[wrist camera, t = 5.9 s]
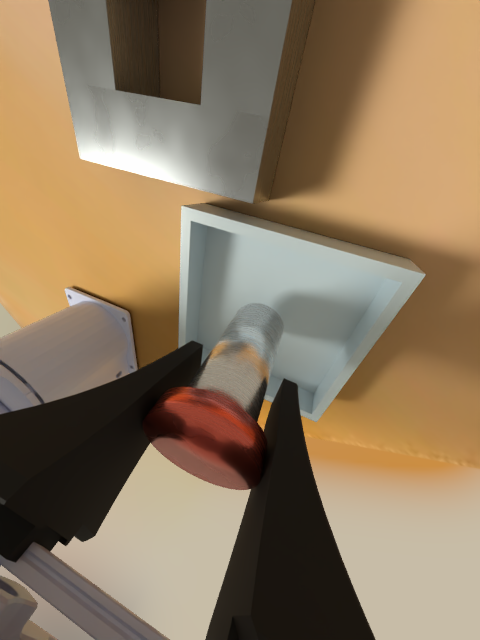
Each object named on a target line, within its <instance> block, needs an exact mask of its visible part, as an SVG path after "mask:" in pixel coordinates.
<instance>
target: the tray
mask: <svg viewBox="0 0 480 640" xmlns="http://www.w3.org/2000/svg"><path fill="white" fill-rule="evenodd" d="M425 275H426V274H425V273H424V272H423V271H422V270H421V269H420V268H418V267H417V266H416V265H415V264H414V263H413V262H412V261H411V260H410V259H408V258H404V257H400V256H397V255H393V254H389V253H386V252H382V251H378V250H375V249H371V248H367V247H364V246H360V245H356V244H353V243H349V242H345V241H341V240H338V239H334V238H330V237H327V236H323V235H319V234H316V233H312V232H308V231H305V230H301V229H297V228H294V227H290V226H286V225H283V224H279V223H275V222H272V221H268V220H264V219H261V218H257V217H253V216H250V215H246V214H242V213H239V212H235V211H231V210H228V209H224V208H220V207H217V206H213V205H209V204H206V203H201V204H192V205H184V206H181V250H180V295H179V341H178V348H180V347H181V346H183V345H185V344H187V343H188V342H190V341H192V340H193V341H195V342H198V343H200V344H202V345H203V351H202V360H201V365H202V364H203V362H204V361H205V359H206V358H207V356H208V355H209V353H210V352H211V350H212V349H213V347H214V346H215V344H216V343H217V341H218V340H219V338H220V337H221V335H222V334H223V332H224V331H225V329H226V328H227V326H228V325H229V323H230V322H231V320H232V319H233V317H234V316H235V314H236V313H237V311H238V310H239V309H240V308H241V307H242V306H244V305H247V304H250V303H260V304H264V305H267V306H269V307H271V308H272V309H274V310H275V311H276V312H277V313H278V314H279V315H280V317H281V319H282V321H283V324H284V331H283V335H282V338H281V342H280V345H279V349H278V352H277V356H276V359H275V362H274V366H273V369H272V373H271V376H270V380H269V383H268V386H267V390H266V393H265V397H264V399H265V400H268V401H270V402H273V400H274V398H275V396H276V394H277V392H278V390H279V387H280V385H281V383H282V381H283V379H284V378H285V379H287V380H289V381H292V382H294V383H297V385H298V397H299V407H300V414H301V416H304V417H306V418H308V419H311V420H313V421H315V422H317V421H318V420H319V418H320V417H321V416H322V414H323V413H324V412H325V410H326V409H327V408H328V406H329V405H330V403H331V402H332V401H333V399H334V398H335V397H336V395H337V394H338V393H339V391H340V390H341V389H342V387H343V386H344V385H345V383H346V382H347V381H348V379H349V378H350V377H351V375H352V374H353V372H354V371H355V370H356V368H357V367H358V366H359V364H360V363H361V362H362V360H363V359H364V358H365V356H366V355H367V354H368V352H369V351H370V350H371V348H372V347H373V346H374V344H375V343H376V341H377V340H378V339H379V337H380V336H381V335H382V333H383V332H384V331H385V329H386V328H387V327H388V325H389V324H390V323H391V321H392V320H393V319H394V317H395V316H396V315H397V313H398V312H399V310H400V309H401V308H402V306H403V305H404V304H405V302H406V301H407V300H408V298H409V297H410V296H411V294H412V293H413V292H414V290H415V289H416V288H417V286H418V285H419V284H420V282H421V281H422V279H423V278H424V277H425Z"/></svg>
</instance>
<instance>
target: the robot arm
mask: <svg viewBox="0 0 480 640" xmlns="http://www.w3.org/2000/svg"><path fill="white" fill-rule="evenodd" d="M65 293H66V296H67V299H68V302H69V305H70V307H68V308H65V309H63V310H61V311H59V312H56V313H54V314H52V315H50V316H48V317H45V318H43V319H41V320H39V321H36V322H34V323H32V324H30V325H28V326H25V327H23V328H21V329H19V330H16V331H14V332H12V333H10V334H7V335H5V336H3V337H1V338H0V566H1V565H2V566H3V567H4V568H6V569H7V570H8V571H10V572H11V573H12V574H13V575H15V576H16V577H17V578H18V579H20V580H21V581H22V582H24V583H25V584H26V585H27V586H29V587H30V588H31V589H32V590H33V591H35V592H36V593H37V594H38V595H40V596H41V597H42V598H43V599H45V600H46V601H47V602H49V603H50V604H51V605H52V606H54V607H55V608H56V609H57V610H59V611H60V612H61V613H62V614H64V615H65V616H66V617H68V618H69V619H70V620H71V621H73V622H74V623H75V624H76V625H78V626H79V627H80V628H81V629H82V630H84V631H85V632H86V633H87V634H89V635H90V636H91V637H93V638H94V639H95V640H170V639H168V638H167V637H165V636H164V635H163V634H161V633H160V632H159V631H157V630H156V629H155V628H153V627H152V626H150V625H149V624H148V623H146V622H145V621H144V620H142V619H141V618H139V617H138V616H137V615H135V614H134V613H133V612H131V611H130V610H129V609H127V608H126V607H125V606H123V605H122V604H121V603H119V602H118V601H116V600H115V599H114V598H112V597H111V596H110V595H108V594H107V593H105V592H104V591H103V590H101V589H100V588H99V587H97V586H96V585H95V584H93V583H92V582H91V581H89V580H88V579H86V578H85V577H84V576H82V575H81V574H80V573H78V572H77V571H76V570H74V569H73V568H71V567H70V566H69V565H67V564H66V563H64V562H63V561H62V560H61V559H59V558H58V557H56V556H55V555H54V554H52V553H51V552H50V551H51V550H52V549H53V547H54V546H55V545H56V543H57V542H58V541H59V542H61V543H62V544H63V545H65V546H66V545H68V543H69V542H70V541H71V539H72V538H73V537H74V536H75V537H76V538H77V539H79V540H80V541H82V542H84V541H86V540H88V539H90V538H92V537H94V536H95V535H96V533H97V531H98V529H99V528H100V526H101V524H102V522H103V520H104V519H105V517H106V515H107V513H108V512H109V510H110V508H111V506H112V505H113V503H114V501H115V499H116V498H117V496H118V494H119V493H120V491H121V489H122V487H123V486H124V484H125V483H126V481H127V479H128V478H129V476H130V474H131V472H132V471H133V469H134V468H135V466H136V464H137V463H138V461H139V459H140V458H141V456H142V455H143V453H144V451H145V450H146V448H147V447H148V445H149V444H150V441H149V440H148V438H147V437H146V435H145V433H144V430H143V420H144V418H145V417H146V416H147V414H148V413H149V412H150V410H151V409H152V408H153V406H154V405H155V404H156V402H157V401H158V400H159V398H160V397H161V396H162V395H163V393H164V392H166V391H167V390H169V389H171V388H175V387H187V386H188V385H189V383H190V382H191V380H192V379H193V377H194V376H195V374H196V373H197V371H198V370H199V368H200V367H201V360H202V351H203V345H202V344H200V343H198V342H195V341H193V340H192V341H190V342H188V343H187V344H185V345H183V346H181V347H180V348H178V349H176V350H175V351H173V352H171V353H169V354H168V355H166V356H164V357H162V358H160V359H158V360H156V361H155V362H153V363H151V364H149V365H147V366H145V367H143V368H141V369H138V368H137V361H136V354H135V347H134V340H133V332H132V325H131V318H130V314H129V312H128V311H127V310H125V309H122V308H120V307H117V306H115V305H112V304H110V303H108V302H105V301H103V300H100V299H98V298H95V297H93V296H91V295H88V294H86V293H83V292H81V291H78V290H76V289H74V288H71V287H67V288H65ZM129 373H130V374H129ZM264 434H265V436H266V438H267V443H268V448H267V452H266V457H265V461H264V466H263V470H262V475H261V479H260V482H259V484H258V485H257V486H256V487H254V488H252V489H251V492H250V495H249V498H248V502H247V505H246V509H245V512H244V516H243V519H242V522H241V525H240V529H239V532H238V535H237V539H236V542H235V545H234V548H233V552H232V555H231V558H230V561H229V565H228V568H227V571H226V574H225V577H224V581H223V584H222V587H221V590H220V593H219V597H218V600H217V603H216V606H215V609H214V613H213V615H212V619H211V622H210V625H209V629H208V632H207V636H206V639H205V640H375V637H374V635H373V633H372V630H371V628H370V626H369V623H368V621H367V619H366V617H365V614H364V612H363V609H362V607H361V605H360V602H359V600H358V597H357V595H356V593H355V590H354V588H353V585H352V583H351V580H350V578H349V575H348V573H347V570H346V568H345V565H344V563H343V561H342V558H341V555H340V553H339V550H338V547H337V544H336V542H335V539H334V536H333V533H332V530H331V527H330V525H329V522H328V519H327V517H326V514H325V511H324V508H323V505H322V501H321V498H320V495H319V492H318V489H317V485H316V482H315V479H314V475H313V471H312V467H311V464H310V460H309V456H308V451H307V447H306V442H305V437H304V432H303V426H302V421H301V414H300V407H299V397H298V385H297V383H294V382H292V381H289V380H287V379H285V378H284V379H283V381H282V383H281V385H280V387H279V390H278V392H277V394H276V396H275V398H274V400H273V402H272V405H271V408H270V411H269V414H268V418H267V421H266V424H265V429H264ZM37 604H38V603H37V602H36V600H35V599H34V598H33V597H32V595H31V594H30V593H29V592H28V591H27V590H26V589H25V588H24V587H23V586H21V585H20V584H18V583H17V582H14V581H12V580H10V579H7V578H5V577H2V576H0V640H58V639H56V638H55V637H53V636H52V635H50V634H49V633H48V632H46V631H45V630H43V629H42V628H40V627H39V626H37V625H36V624H35V623H33V622H32V621H30V620H29V618H30V617H31V615H32V614H33V613H34V611H35V610H36V608H37Z"/></svg>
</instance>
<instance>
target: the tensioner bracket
mask: <svg viewBox="0 0 480 640" xmlns="http://www.w3.org/2000/svg"><path fill="white" fill-rule="evenodd" d="M48 1H49V6H50V11H51V16H52V21H53V26H54V31H55V36H56V41H57V46H58V51H59V56H60V61H61V66H62V71H63V76H64V81H65V86H66V91H67V96H68V101H69V106H70V110H71V115H72V120H73V125H74V130H75V135H76V140H77V145H78V150H79V155H80V159H83V160H87V161H91V162H95V163H99V164H102V165H106V166H110V167H114V168H118V169H122V170H126V171H129V172H133V173H137V174H141V175H145V176H149V177H152V178H156V179H160V180H164V181H168V182H172V183H175V184H179V185H183V186H187V187H191V188H195V189H198V190H202V191H206V192H210V193H214V194H218V195H222V196H225V197H229V198H233V199H237V200H241V201H245V202H248V203H252V204H253V203H258V202H264V201H269V197H270V193H271V189H272V184H273V180H274V176H275V171H276V167H277V163H278V158H279V154H280V150H281V146H282V141H283V137H284V133H285V128H286V124H287V120H288V115H289V111H290V107H291V102H292V98H293V94H294V89H295V85H296V81H297V76H298V72H299V68H300V63H301V59H302V55H303V51H304V46H305V42H306V38H307V33H308V29H309V25H310V20H311V16H312V12H313V7H314V3H315V0H206V18H205V36H204V54H203V72H202V90H201V105H197V104H192V103H186V102H180V101H175V100H169V99H163V98H160V87H159V47H158V6H157V0H48Z"/></svg>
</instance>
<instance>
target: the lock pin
mask: <svg viewBox="0 0 480 640" xmlns="http://www.w3.org/2000/svg"><path fill="white" fill-rule="evenodd" d="M283 331H284V324H283V321H282V319H281V317H280V315H279V314H278V313H277V312H276V311H275V310H274V309H272V308H271V307H269V306H267V305H264V304H260V303H250V304H247V305H244V306H242V307H241V308H240V309H239V310H238V311H237V313H236V314H235V316H234V317H233V319H232V320H231V322H230V323H229V325H228V326H227V328H226V329H225V331H224V332H223V334H222V335H221V337H220V338H219V340H218V341H217V343H216V344H215V346H214V347H213V349H212V350H211V352H210V353H209V355H208V356H207V358H206V359H205V361H204V362H203V364H202V365H201V367H200V368H199V370H198V371H197V373H196V374H195V376H194V377H193V379H192V380H191V382H190V383H189V385H188V386H187V387H175V388H171V389H169V390H167V391H166V392H164V393H163V395H162V396H161V397H160V398H159V400H158V401H157V402H156V404H155V405H154V406H153V408H152V409H151V410H150V412H149V413H148V414H147V416H146V417H145V418H144V420H143V430H144V433H145V435H146V437H147V438H148V440H149V441H150V442H151V444H152V445H153V446H154V447H155V448H156V449H157V450H158V451H159V452H160V453H161V454H162V455H163V456H165V457H166V458H167V459H169V460H170V461H171V462H172V463H174V464H175V465H177V466H178V467H180V468H181V469H183V470H185V471H186V472H188V473H190V474H192V475H194V476H196V477H198V478H200V479H202V480H204V481H207V482H209V483H212V484H215V485H218V486H222V487H225V488H229V489H236V490H247V489H252V488H254V487H256V486H257V485H258V484H259V482H260V479H261V475H262V470H263V466H264V461H265V457H266V452H267V448H268V443H267V438H266V436H265V434H264V432H263V430H262V428H261V427H260V426H259V425H258V423H257V421H258V417H259V414H260V411H261V407H262V404H263V400H264V397H265V393H266V390H267V386H268V383H269V380H270V376H271V373H272V369H273V366H274V362H275V359H276V356H277V352H278V349H279V345H280V342H281V338H282V335H283Z"/></svg>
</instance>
